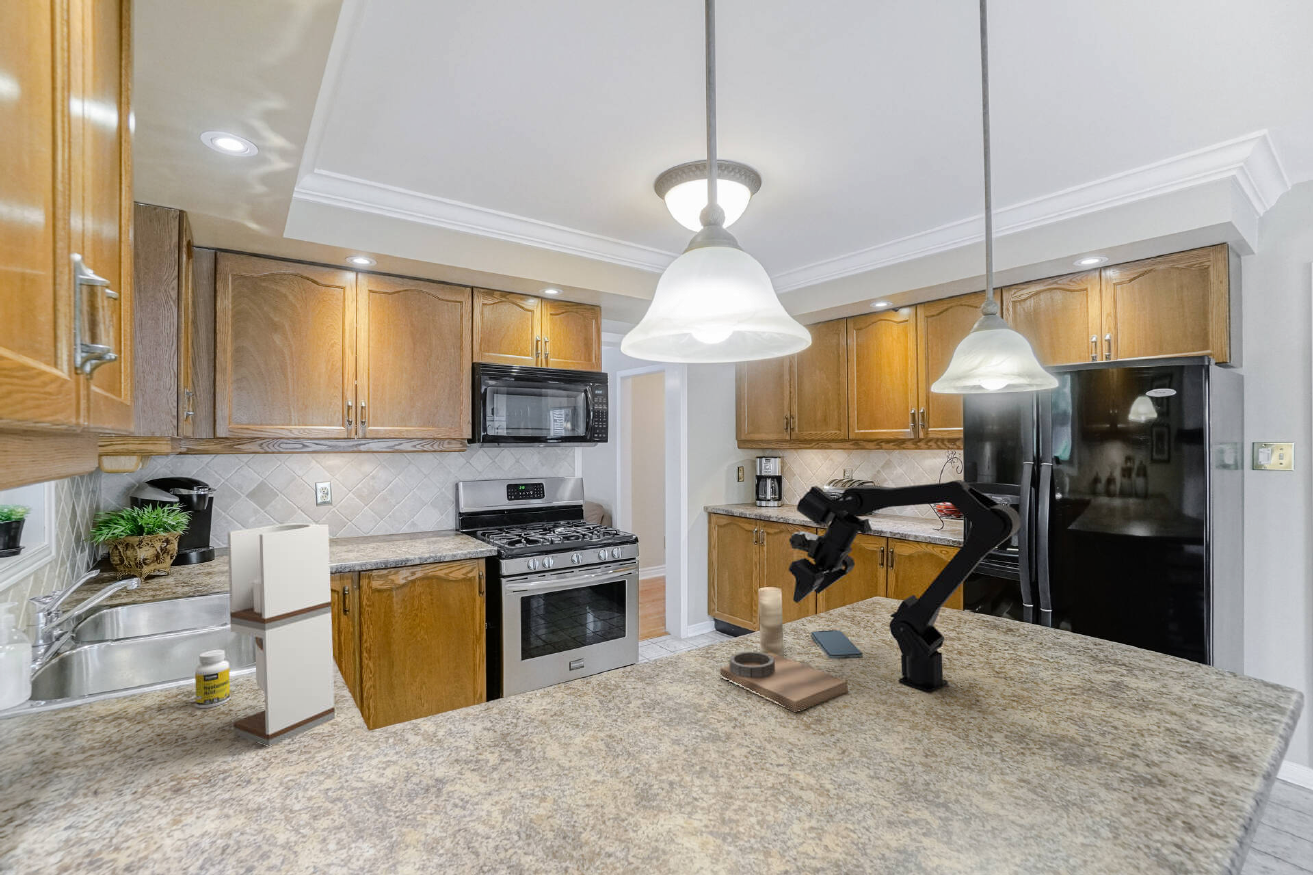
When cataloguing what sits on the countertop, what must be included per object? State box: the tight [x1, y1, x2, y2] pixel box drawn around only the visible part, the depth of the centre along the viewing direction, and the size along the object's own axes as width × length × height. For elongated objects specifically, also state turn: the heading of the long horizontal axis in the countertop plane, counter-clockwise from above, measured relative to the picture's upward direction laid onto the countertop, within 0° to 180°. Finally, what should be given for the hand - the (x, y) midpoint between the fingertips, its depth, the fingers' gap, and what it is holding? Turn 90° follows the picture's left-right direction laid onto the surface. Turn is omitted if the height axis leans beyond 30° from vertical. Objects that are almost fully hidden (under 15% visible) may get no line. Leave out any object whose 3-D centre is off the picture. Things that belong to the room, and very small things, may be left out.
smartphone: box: [810, 629, 863, 660], centre depth 138 cm, size 8×2×15 cm
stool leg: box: [758, 586, 785, 657], centre depth 135 cm, size 5×5×14 cm
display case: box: [227, 522, 336, 746], centre depth 107 cm, size 11×11×35 cm
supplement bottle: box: [194, 649, 231, 709], centre depth 118 cm, size 5×5×10 cm
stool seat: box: [719, 650, 849, 713], centre depth 117 cm, size 20×14×4 cm
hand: (806, 596), depth 132 cm, fingers open, 9 cm apart
